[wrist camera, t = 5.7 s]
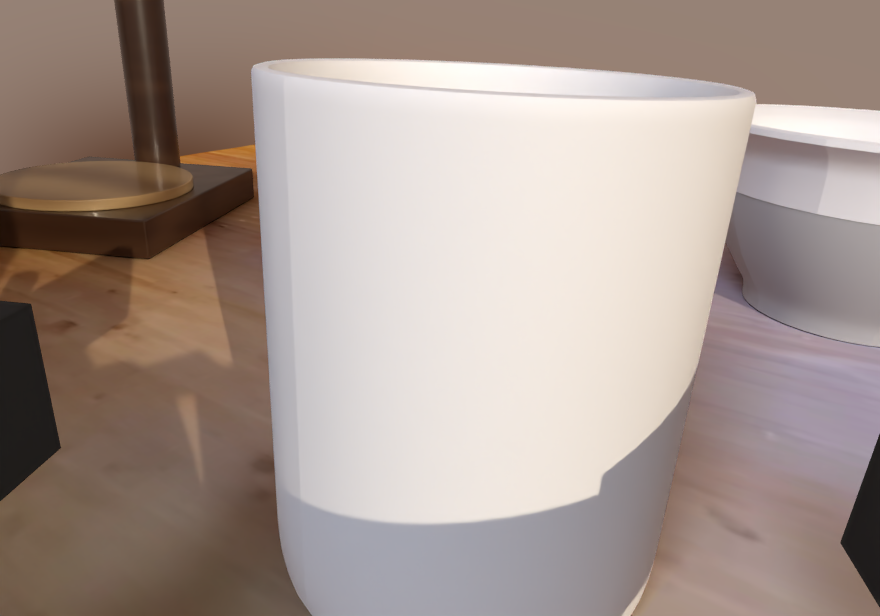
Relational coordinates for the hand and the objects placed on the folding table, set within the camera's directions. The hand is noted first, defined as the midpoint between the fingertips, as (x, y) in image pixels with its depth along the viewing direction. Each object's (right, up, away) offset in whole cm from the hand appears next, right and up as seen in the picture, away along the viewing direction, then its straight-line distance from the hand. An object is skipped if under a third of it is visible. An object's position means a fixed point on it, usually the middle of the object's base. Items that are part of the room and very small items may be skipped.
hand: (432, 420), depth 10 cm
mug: (0, -3, +7) cm, 8 cm away
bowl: (+19, +2, +21) cm, 29 cm away
